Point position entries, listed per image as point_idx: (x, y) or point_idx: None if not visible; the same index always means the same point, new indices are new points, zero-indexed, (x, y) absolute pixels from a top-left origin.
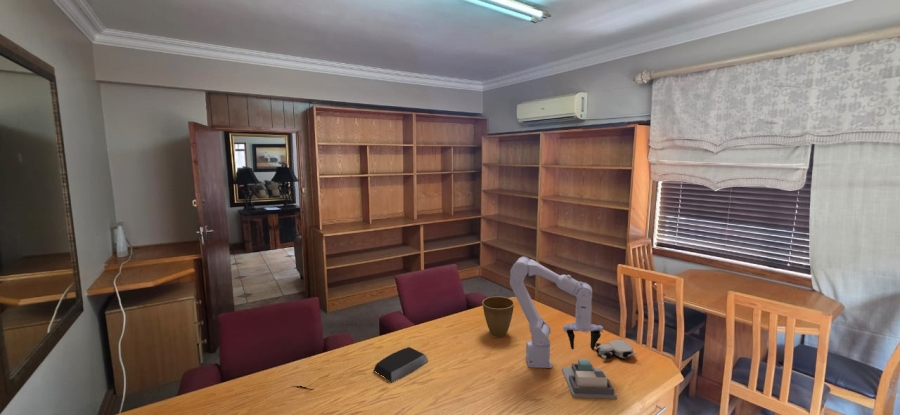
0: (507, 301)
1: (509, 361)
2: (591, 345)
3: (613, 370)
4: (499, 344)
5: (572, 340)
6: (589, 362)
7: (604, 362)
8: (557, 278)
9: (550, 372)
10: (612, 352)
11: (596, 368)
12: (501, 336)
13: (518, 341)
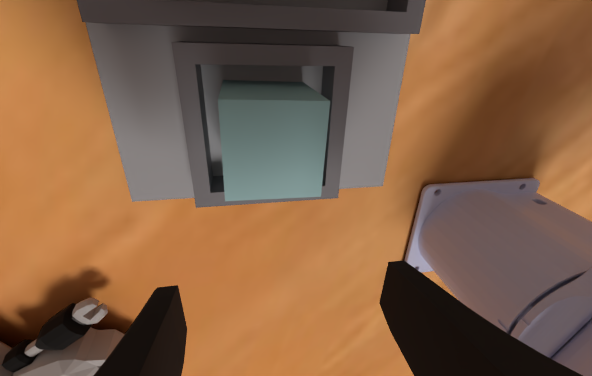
0: None
1: (583, 216)
2: (174, 344)
3: (40, 205)
4: None
5: (510, 355)
6: (231, 148)
7: (98, 277)
8: None
9: (447, 145)
10: (19, 356)
11: (162, 195)
12: None
13: None
